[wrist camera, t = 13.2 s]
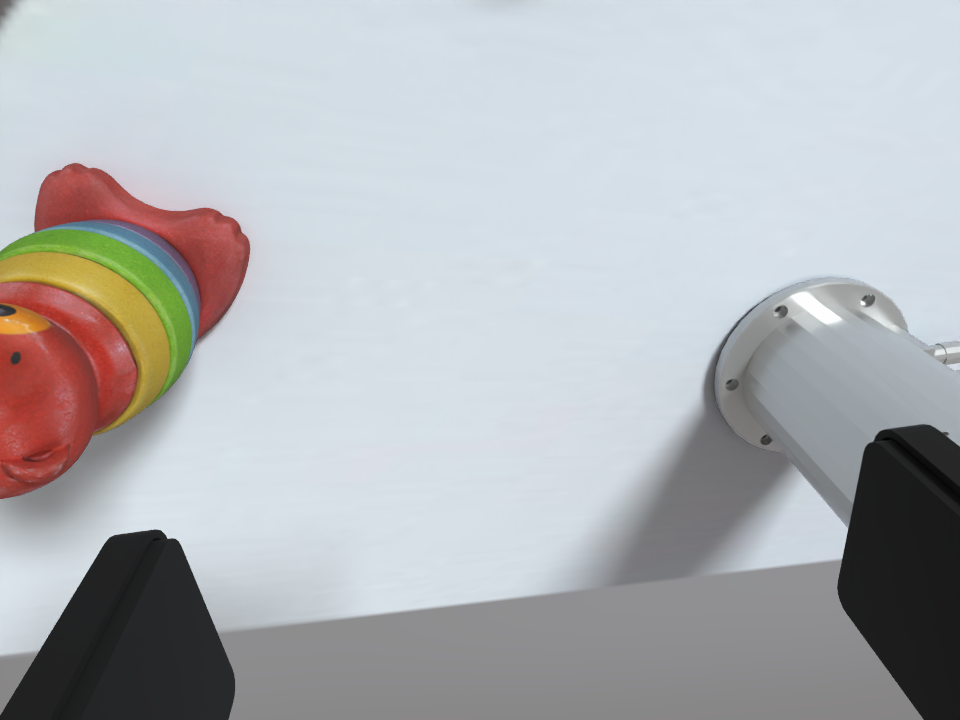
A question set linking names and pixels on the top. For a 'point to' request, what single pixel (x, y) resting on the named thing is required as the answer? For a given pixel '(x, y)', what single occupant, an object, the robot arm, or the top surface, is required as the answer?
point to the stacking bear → (101, 315)
